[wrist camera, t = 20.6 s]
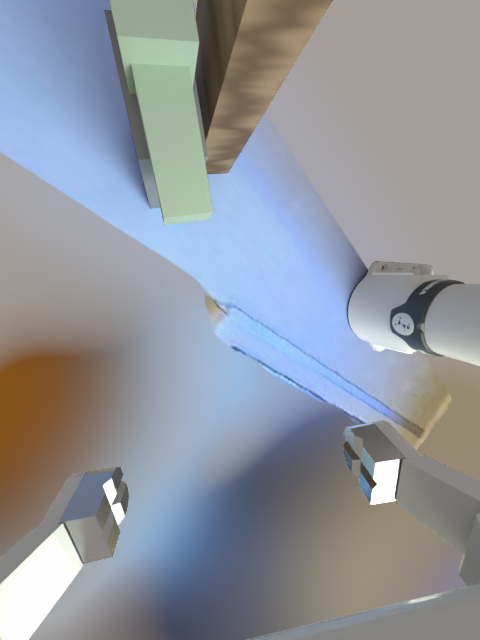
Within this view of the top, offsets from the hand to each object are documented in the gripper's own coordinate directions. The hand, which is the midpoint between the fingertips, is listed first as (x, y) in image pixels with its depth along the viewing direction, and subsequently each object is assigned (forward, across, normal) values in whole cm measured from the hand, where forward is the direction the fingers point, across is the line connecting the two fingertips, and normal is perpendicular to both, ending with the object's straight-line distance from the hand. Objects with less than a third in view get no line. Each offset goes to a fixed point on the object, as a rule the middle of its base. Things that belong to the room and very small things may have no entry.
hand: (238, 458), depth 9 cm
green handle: (+18, +2, -17) cm, 25 cm away
